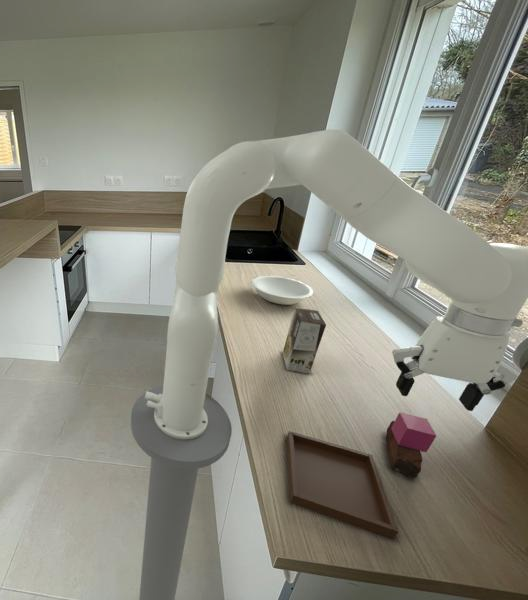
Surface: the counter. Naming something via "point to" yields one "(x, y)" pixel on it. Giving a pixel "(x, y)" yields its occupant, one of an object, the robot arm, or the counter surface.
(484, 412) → the counter surface
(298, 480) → the tray
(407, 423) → the mulberry cube
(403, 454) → the brick
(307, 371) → the coffee box
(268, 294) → the soup bowl
